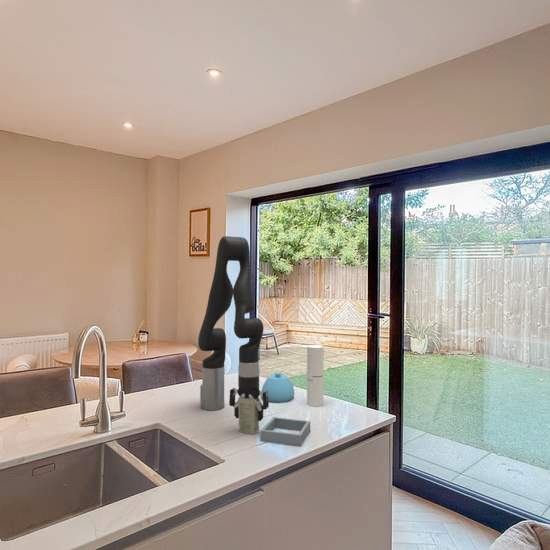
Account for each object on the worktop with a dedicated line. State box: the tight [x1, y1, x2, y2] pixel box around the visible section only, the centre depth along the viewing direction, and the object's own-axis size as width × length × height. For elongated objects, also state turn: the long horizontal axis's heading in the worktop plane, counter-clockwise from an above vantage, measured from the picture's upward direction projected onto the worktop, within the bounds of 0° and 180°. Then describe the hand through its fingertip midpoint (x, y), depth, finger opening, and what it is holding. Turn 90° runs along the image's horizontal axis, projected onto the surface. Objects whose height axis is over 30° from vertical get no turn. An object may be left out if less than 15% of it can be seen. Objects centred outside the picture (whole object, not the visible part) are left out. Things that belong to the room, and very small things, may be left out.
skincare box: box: [237, 396, 260, 435], centre depth 148 cm, size 6×4×12 cm
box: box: [259, 416, 311, 447], centre depth 143 cm, size 14×14×4 cm
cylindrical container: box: [306, 344, 325, 407], centre depth 179 cm, size 7×7×25 cm
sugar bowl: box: [260, 371, 295, 403], centre depth 187 cm, size 15×15×12 cm
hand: (248, 419), depth 148 cm, fingers open, 8 cm apart
